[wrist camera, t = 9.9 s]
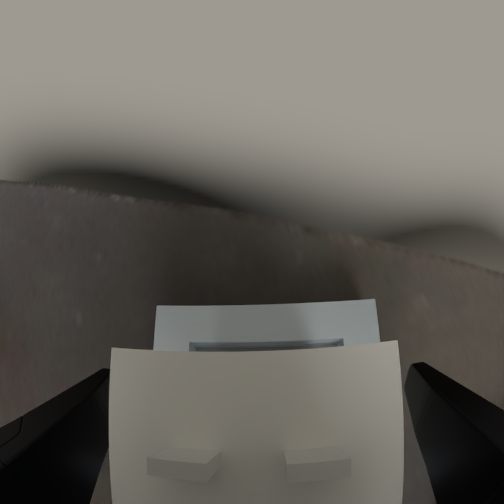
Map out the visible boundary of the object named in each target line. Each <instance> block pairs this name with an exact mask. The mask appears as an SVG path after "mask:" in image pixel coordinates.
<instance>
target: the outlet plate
mask: <svg viewBox="0 0 504 504" xmlns="http://www.w3.org/2000/svg"><path fill="white" fill-rule="evenodd" d="M378 342H380V336H379V327H378V318H377V310H376V303H375V299H365V300H351V301H334V302H316V303H294V304H266V305H222V306H157V309H156V321H155V333H154V348H153V350H160V351H193V352H244V351H277V350H297V349H313V348H327V347H339V346H350V345H360V344H369V343H378Z"/></svg>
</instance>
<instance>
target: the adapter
mask: <svg viewBox="0 0 504 504" xmlns="http://www.w3.org/2000/svg"><path fill="white" fill-rule="evenodd" d="M109 461H110V479H111V493H112V504H402V495H403V472H404V423H403V399H402V383H401V371H400V360H399V350H398V341H397V340H394V341H387V342H378V343H369V344H360V345H350V346H339V347H327V348H313V349H297V350H277V351H244V352H193V351H160V350H140V349H124V348H112V351H111V366H110V385H109Z"/></svg>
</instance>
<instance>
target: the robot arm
mask: <svg viewBox="0 0 504 504" xmlns="http://www.w3.org/2000/svg"><path fill="white" fill-rule="evenodd" d="M109 385H110V369H107V368H103V369H101V370H99V371H98V372H96V373H94V374H93V375H91V376H89V377H88V378H86V379H84V380H83V381H81V382H79V383H77V384H76V385H74V386H72V387H71V388H69V389H67V390H66V391H64V392H62V393H61V394H59V395H57V396H55V397H54V398H52V399H50V400H49V401H47V402H45V403H43V404H42V405H40V406H38V407H37V408H35V409H33V410H31V411H30V412H28V413H26V414H24V415H23V416H21V417H19V418H17V419H16V420H14V421H12V422H10V423H8V424H7V425H5V426H3V427H1V428H0V504H90V500H91V497H92V494H93V491H94V488H95V485H96V482H97V479H98V476H99V473H100V470H101V467H102V464H103V461H104V459H105V456H106V453H107V450H108V447H109ZM404 388H405V394H406V398H407V402H408V406H409V411H410V415H411V420H412V424H413V428H414V432H415V435H416V438H417V441H418V444H419V447H420V450H421V453H422V456H423V459H424V462H425V465H426V469H427V472H428V475H429V478H430V482H431V485H432V489H433V492H434V495H435V499H436V503H437V504H504V411H503V409H501V408H499V407H498V406H496V405H494V404H493V403H491V402H489V401H488V400H486V399H484V398H483V397H481V396H479V395H478V394H476V393H474V392H473V391H471V390H469V389H468V388H466V387H464V386H463V385H461V384H459V383H458V382H456V381H454V380H453V379H451V378H449V377H448V376H446V375H444V374H443V373H441V372H439V371H438V370H436V369H434V368H433V367H431V366H429V365H428V364H426V363H424V362H418V363H413V364H411V365H410V367H409V371H408V374H407V378H406V381H405V386H404Z"/></svg>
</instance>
